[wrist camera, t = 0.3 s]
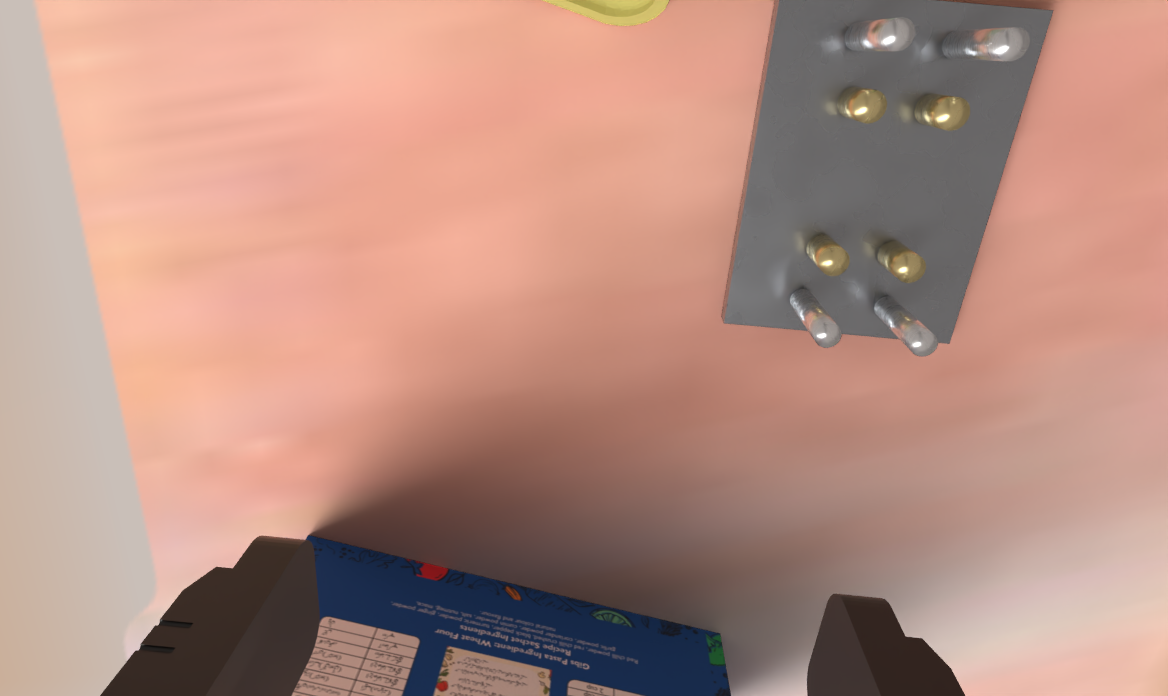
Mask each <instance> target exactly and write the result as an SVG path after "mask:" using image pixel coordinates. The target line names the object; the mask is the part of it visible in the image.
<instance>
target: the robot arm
mask: <svg viewBox="0 0 1168 696" xmlns="http://www.w3.org/2000/svg"><path fill="white" fill-rule="evenodd" d="M319 622H320V611H319V600H318V589H317V578H316V567H315V556H314V548H313V545H312V543H311V542H310V541H309V540H300V539H290V538H280V537H270V536H259V537H257V538H256V539H255V540H254V541H253V542H252V543H251V544H250V546H249V547H248V548H247V550H246V551H245V553H244V554H243V555H242V557H241V558H240V559H239V561H238V562H237V564H236V565H235V566H234V568H233V569H232V568H222V567H215V568H214V569H213V570H211V571H210V572H208V573H207V574H206V575H204V576H203V577H201V578H200V579H198V580H197V581H196V582H194V583H193V584H191V585H190V586H189V587H187V588H186V589H184V590H183V591H182V592H181V594H180V595H179V596H178V597H177V599H176V600H175V601H174V602H173V604H172V605H171V606H170V608H169V609H168V610H167V611H166V613H165V614H164V615H163V616H162V618H161V619H160V623H159V625H158V626H155V627H154V628H153V629H152V630H151V632H150V633H149V634H148V636H147V637H146V638H145V639H144V641H143V642H142V643H141V647H140V649H139V651H135V652H134V653H133V655H132V656H131V657H130V658H129V660H128V661H127V662H126V664H125V665H124V666H123V667H122V669H121V670H120V671H119V673H118V674H117V675H116V676H115V678H114V679H113V680H112V681H111V683H110V684H109V685H108V686H107V688H106V689H105V690H104V691H103V693H102V694H101V695H100V696H292V694H293V692H294V690H295V688H296V686H297V684H298V682H299V680H300V678H301V676H302V674H303V672H304V670H305V668H306V666H307V664H308V662H309V660H310V657H311V655H312V652H313V650H314V647H315V643H316V640H317V635H318V630H319ZM807 693H808V696H965V694H964V692H963V690H962V689H961V687H960V685H959V683H958V681H957V679H956V677H955V675H954V673H953V672H952V670H951V668H950V667H949V666H948V665H947V664H946V663H945V662H944V661H943V660H942V659H941V658H940V657H939V656H938V655H937V654H936V653H935V652H934V650H933V649H932V648H931V647H930V646H929V645H928V644H927V643H926V642H925V641H924V640H923V639H922V638H912V637H905V635H904V633H903V631H902V629H901V627H900V624H899V622H898V620H897V618H896V616H895V614H894V612H893V610H892V608H891V606H890V604H889V603H888V602H887V601H886V600H885V599H882V598H873V597H862V596H852V595H842V594H833V595H832V596H831V597H830V598H829V600H828V603H827V606H826V609H825V612H824V616H823V619H822V622H821V626H820V629H819V632H818V636H817V639H816V643H815V646H814V649H813V653H812V656H811V659H810V663H809V667H808V675H807Z"/></svg>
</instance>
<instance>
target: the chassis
mask: <svg viewBox="0 0 1168 696" xmlns="http://www.w3.org/2000/svg"><path fill="white" fill-rule="evenodd" d="M1052 13H1053V10H1042V9H1030V8H1018V7H1007V6H995V5H984V4H972V3H961V2H949V1H938V0H775V2H774V8H773V13H772V19H771V25H770V31H769V37H768V43H767V49H766V55H765V61H764V67H763V73H762V79H761V85H760V90H759V96H758V102H757V108H756V114H755V120H754V126H753V132H752V138H751V144H750V150H749V156H748V161H747V167H746V173H745V179H744V185H743V191H742V197H741V203H740V209H739V215H738V221H737V227H736V232H735V238H734V244H733V250H732V256H731V262H730V268H729V274H728V280H727V286H726V292H725V298H724V303H723V309H722V315H721V317H722V320H723V322H724V323H728V324H739V325H750V326H761V327H772V328H783V329H794V330H805V331H809V333H810V334H811V336H812V337H813V339H814V340H815V342H816V343H817V344H818V345H819V346H821V347H824V348H829V347H832V346H834V345H836V344H837V343H838V342H839V341H840V339H841V334H849V335H860V336H871V337H882V338H893V339H900V340H901V341H902V342H903V343H904V344H905V345H906V346H907V347H908V348H909V349H910V350H911V351H912V352H913V353H914V354H915V355H917V356H927V355H930V354H931V353H933V352H934V351H935V349H936V348H937V345H938V343H948V344H949V343H950V340H951V337H952V333H953V330H954V327H955V324H956V321H957V317H958V314H959V311H960V308H961V305H962V301H963V298H964V295H965V292H966V289H967V285H968V282H969V279H970V276H971V273H972V269H973V266H974V263H975V260H976V257H977V253H978V250H979V247H980V244H981V241H982V237H983V234H984V231H985V228H986V225H987V221H988V218H989V215H990V212H991V209H992V205H993V202H994V199H995V196H996V193H997V189H998V186H999V183H1000V180H1001V177H1002V173H1003V170H1004V167H1005V164H1006V160H1007V157H1008V154H1009V151H1010V148H1011V144H1012V141H1013V138H1014V135H1015V132H1016V128H1017V125H1018V122H1019V119H1020V116H1021V112H1022V109H1023V106H1024V103H1025V100H1026V96H1027V93H1028V90H1029V87H1030V84H1031V80H1032V77H1033V74H1034V71H1035V68H1036V64H1037V61H1038V58H1039V55H1040V52H1041V48H1042V45H1043V42H1044V39H1045V36H1046V32H1047V29H1048V26H1049V23H1050V20H1051V16H1052Z"/></svg>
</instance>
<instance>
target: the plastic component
mask: <svg viewBox="0 0 1168 696" xmlns="http://www.w3.org/2000/svg"><path fill="white" fill-rule="evenodd" d="M543 1H545V2H548V3H551V4H553V5H556V6H559V7H562V8H564V9H567V10H570V11H572V12H575V13H578V14H581V15H583V16H586V17H589V18H591V19H594V20H597V21H599V22H602V23H605V24H611V25H618V26H631V25H638V24H642V23H646V22H648V21H650V20H652V19H654V18H656V17H657V16H658V15H659V14H660V13H661V12H663V11H664V10H665V8H666V6H667V4H668V2H669V0H543Z"/></svg>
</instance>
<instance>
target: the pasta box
mask: <svg viewBox="0 0 1168 696" xmlns="http://www.w3.org/2000/svg"><path fill="white" fill-rule="evenodd" d="M306 540H309V541H310V542H311V543H312V545H313V548H314V556H315V567H316V578H317V589H318V600H319V611H320V622H319V630H318V635H317V640H316V643H315V647H314V650H313V652H312V655H311V657H310V660H309V662H308V664H307V666H306V668H305V670H304V672H303V674H302V676H301V678H300V680H299V682H298V684H297V686H296V688H295V690H294V692H293V694H292V696H731V693H730V688H729V682H728V676H727V671H726V665H725V659H724V653H723V648H722V642H721V636H720V634H719V633H715V632H711V631H707V630H703V629H698V628H694V627H690V626H686V625H682V624H677V623H673V622H669V621H665V620H661V619H657V618H652V617H648V616H644V615H640V614H636V613H631V612H627V611H623V610H619V609H615V608H611V607H606V606H602V605H598V604H594V603H590V602H586V601H581V600H577V599H573V598H569V597H565V596H560V595H556V594H552V593H548V592H544V591H540V590H535V589H531V588H527V587H523V586H519V585H515V584H510V583H506V582H502V581H498V580H494V579H489V578H485V577H481V576H477V575H473V574H469V573H464V572H460V571H456V570H452V569H448V568H443V567H439V566H435V565H431V564H427V563H423V562H418V561H414V560H410V559H406V558H402V557H398V556H393V555H389V554H385V553H381V552H377V551H372V550H368V549H364V548H360V547H356V546H352V545H347V544H343V543H339V542H335V541H331V540H327V539H322V538H318V537H314V536H310V535H308V537H307V538H306Z"/></svg>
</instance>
